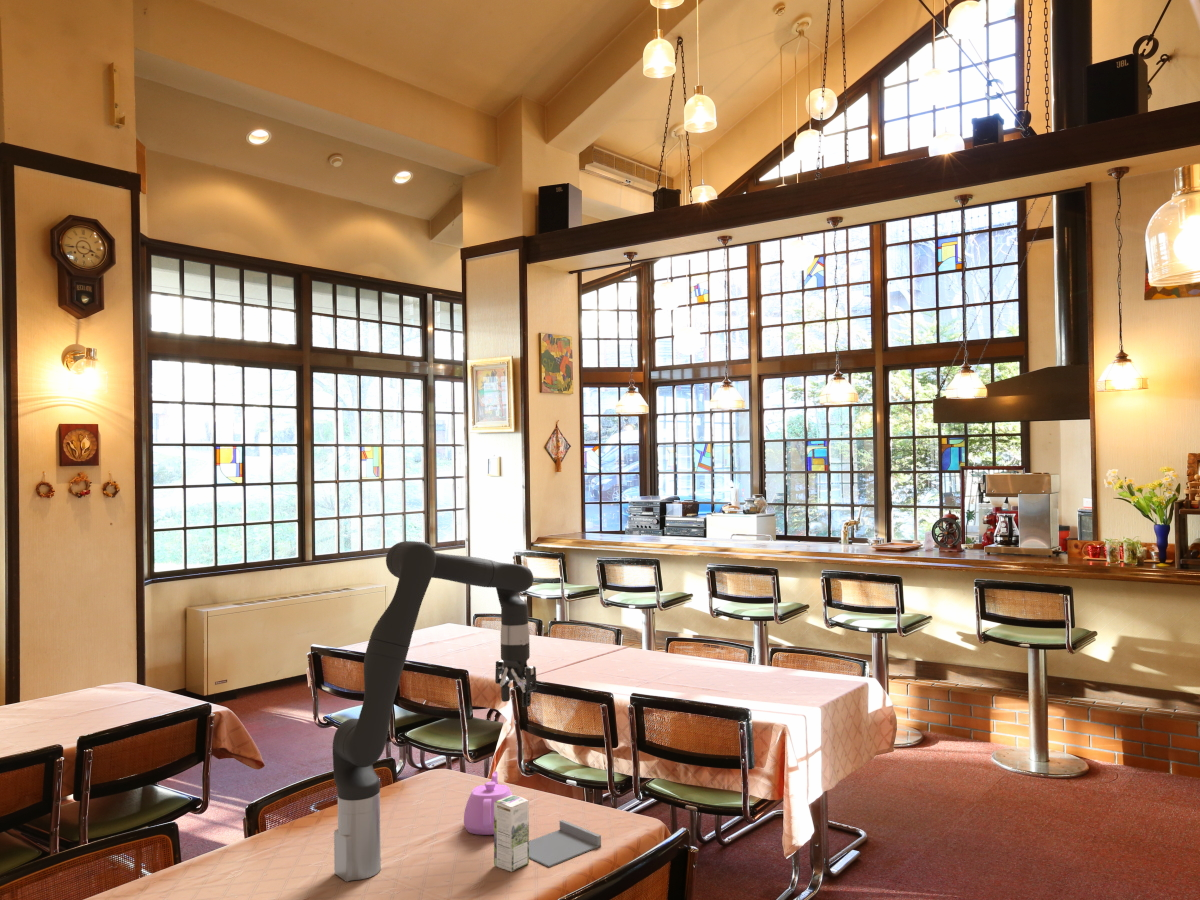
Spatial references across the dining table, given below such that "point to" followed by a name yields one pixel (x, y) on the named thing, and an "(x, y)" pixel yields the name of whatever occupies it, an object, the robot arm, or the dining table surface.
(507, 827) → the syrup box
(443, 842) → the dining table surface
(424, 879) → the dining table surface
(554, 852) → the board with raised edge
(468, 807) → the teapot
